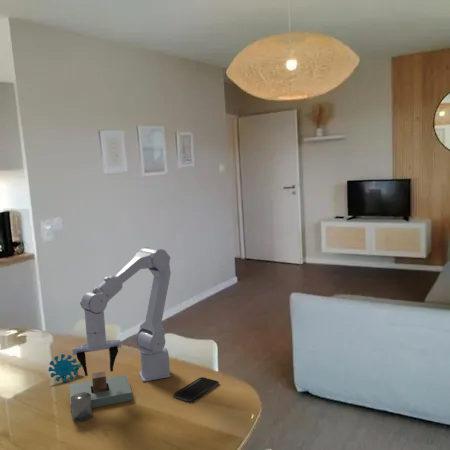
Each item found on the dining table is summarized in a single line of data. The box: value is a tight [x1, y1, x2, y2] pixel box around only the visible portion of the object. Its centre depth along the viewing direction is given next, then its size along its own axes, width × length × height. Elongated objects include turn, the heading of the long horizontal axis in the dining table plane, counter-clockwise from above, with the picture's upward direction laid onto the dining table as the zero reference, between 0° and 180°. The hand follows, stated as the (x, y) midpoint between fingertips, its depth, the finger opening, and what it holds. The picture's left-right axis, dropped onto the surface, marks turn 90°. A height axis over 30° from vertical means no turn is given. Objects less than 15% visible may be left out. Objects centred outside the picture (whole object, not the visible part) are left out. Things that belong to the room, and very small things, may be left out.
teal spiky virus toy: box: [48, 353, 82, 383], centre depth 162 cm, size 11×6×10 cm
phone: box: [173, 376, 220, 404], centre depth 147 cm, size 8×1×15 cm
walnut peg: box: [91, 371, 107, 393], centre depth 146 cm, size 4×4×7 cm
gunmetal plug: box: [70, 392, 93, 423], centre depth 134 cm, size 6×6×6 cm
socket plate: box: [69, 374, 133, 413], centre depth 146 cm, size 18×14×2 cm
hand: (99, 372), depth 146 cm, fingers open, 7 cm apart
